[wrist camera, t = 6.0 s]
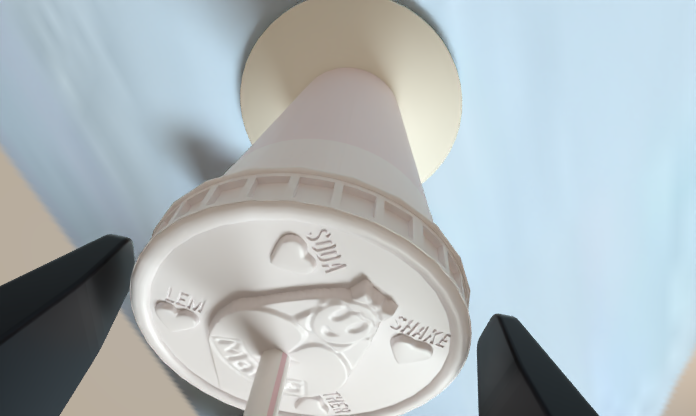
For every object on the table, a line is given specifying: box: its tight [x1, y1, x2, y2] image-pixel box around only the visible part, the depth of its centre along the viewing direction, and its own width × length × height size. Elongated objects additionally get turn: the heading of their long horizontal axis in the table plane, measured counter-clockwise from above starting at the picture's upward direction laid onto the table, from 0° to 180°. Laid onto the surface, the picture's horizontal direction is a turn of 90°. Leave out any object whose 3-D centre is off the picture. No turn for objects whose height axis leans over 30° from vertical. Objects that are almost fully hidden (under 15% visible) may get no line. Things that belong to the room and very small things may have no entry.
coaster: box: [240, 0, 462, 184], centre depth 16 cm, size 8×8×1 cm
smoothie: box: [130, 67, 472, 416], centre depth 10 cm, size 6×6×14 cm
